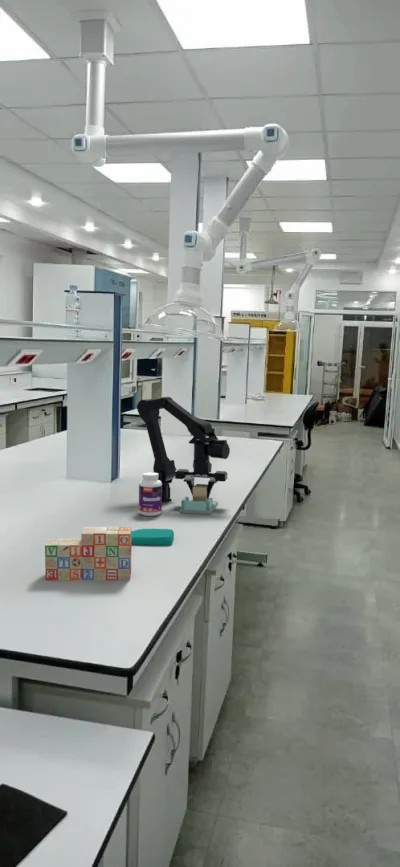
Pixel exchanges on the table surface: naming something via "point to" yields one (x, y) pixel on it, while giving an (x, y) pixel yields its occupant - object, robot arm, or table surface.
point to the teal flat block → (152, 537)
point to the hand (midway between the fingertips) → (201, 498)
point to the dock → (198, 506)
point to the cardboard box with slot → (200, 492)
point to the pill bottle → (150, 495)
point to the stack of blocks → (90, 555)
